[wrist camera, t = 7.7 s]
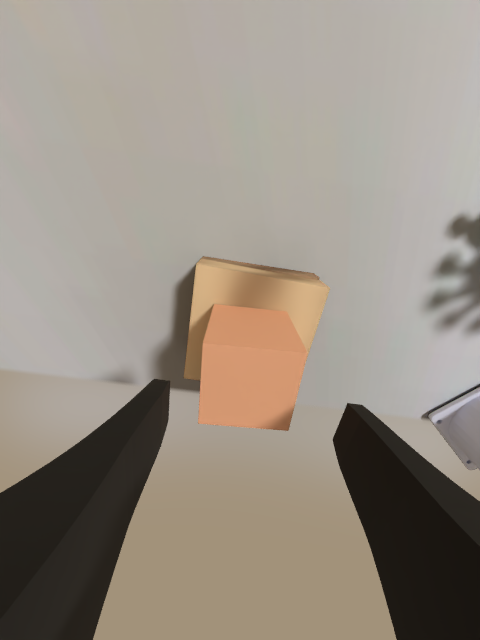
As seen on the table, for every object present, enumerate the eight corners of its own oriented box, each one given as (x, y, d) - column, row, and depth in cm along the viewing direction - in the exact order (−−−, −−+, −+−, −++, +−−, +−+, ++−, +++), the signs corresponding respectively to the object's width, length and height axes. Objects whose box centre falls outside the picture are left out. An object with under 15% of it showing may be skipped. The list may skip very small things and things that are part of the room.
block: (286, 311, 15) (307, 353, 10) (274, 372, 17) (288, 430, 12) (214, 304, 15) (202, 343, 10) (209, 366, 17) (198, 423, 12)
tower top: (319, 280, 16) (329, 288, 15) (289, 377, 19) (294, 394, 18) (201, 258, 16) (196, 263, 14) (189, 362, 19) (183, 378, 17)
